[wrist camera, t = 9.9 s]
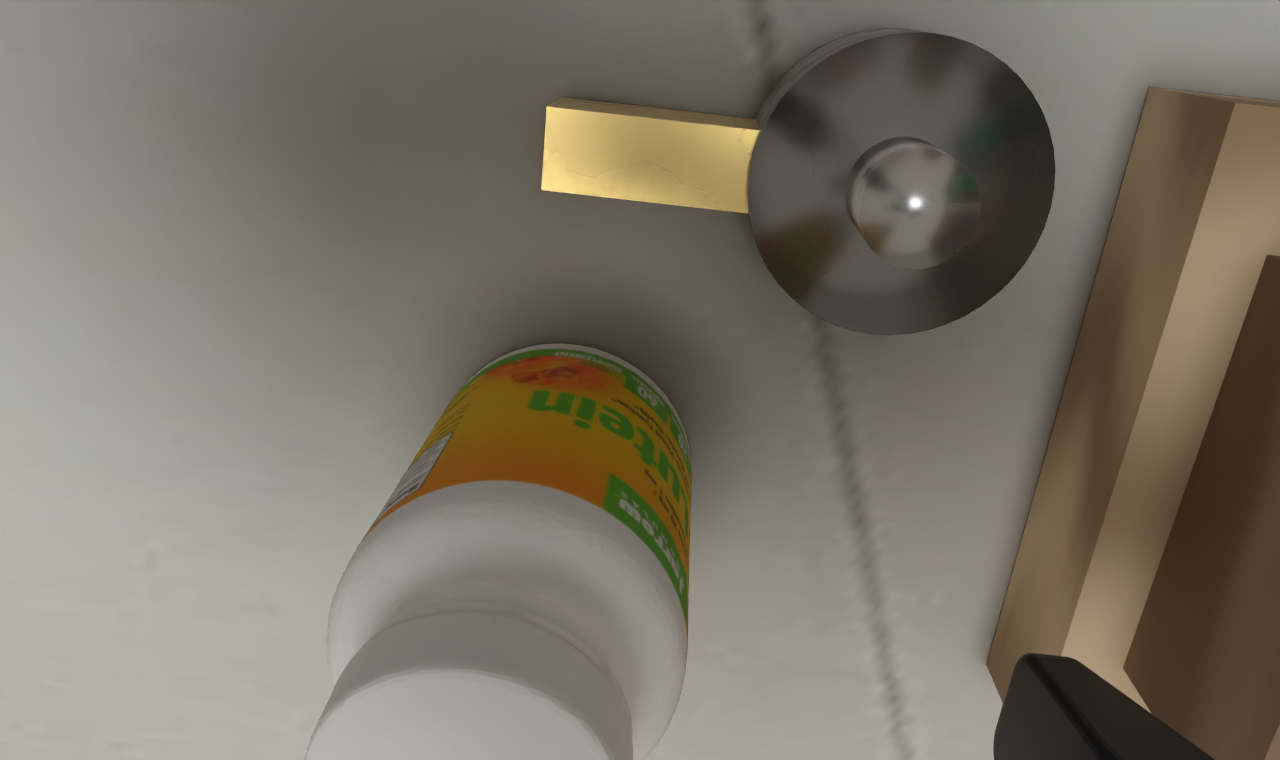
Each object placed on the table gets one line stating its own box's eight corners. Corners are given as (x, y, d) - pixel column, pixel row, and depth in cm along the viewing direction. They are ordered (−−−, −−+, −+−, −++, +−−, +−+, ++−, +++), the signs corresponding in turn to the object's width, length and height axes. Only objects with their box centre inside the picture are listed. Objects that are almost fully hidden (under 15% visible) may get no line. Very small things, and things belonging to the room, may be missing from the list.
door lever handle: (568, -8, 17) (536, -10, 14) (1044, 45, 17) (1133, 55, 14) (549, 263, 19) (516, 322, 16) (980, 313, 19) (1043, 383, 16)
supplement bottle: (743, 430, 20) (779, 774, 11) (601, 607, 22) (533, 1025, 13) (525, 286, 19) (374, 532, 10) (395, 481, 21) (170, 836, 12)
